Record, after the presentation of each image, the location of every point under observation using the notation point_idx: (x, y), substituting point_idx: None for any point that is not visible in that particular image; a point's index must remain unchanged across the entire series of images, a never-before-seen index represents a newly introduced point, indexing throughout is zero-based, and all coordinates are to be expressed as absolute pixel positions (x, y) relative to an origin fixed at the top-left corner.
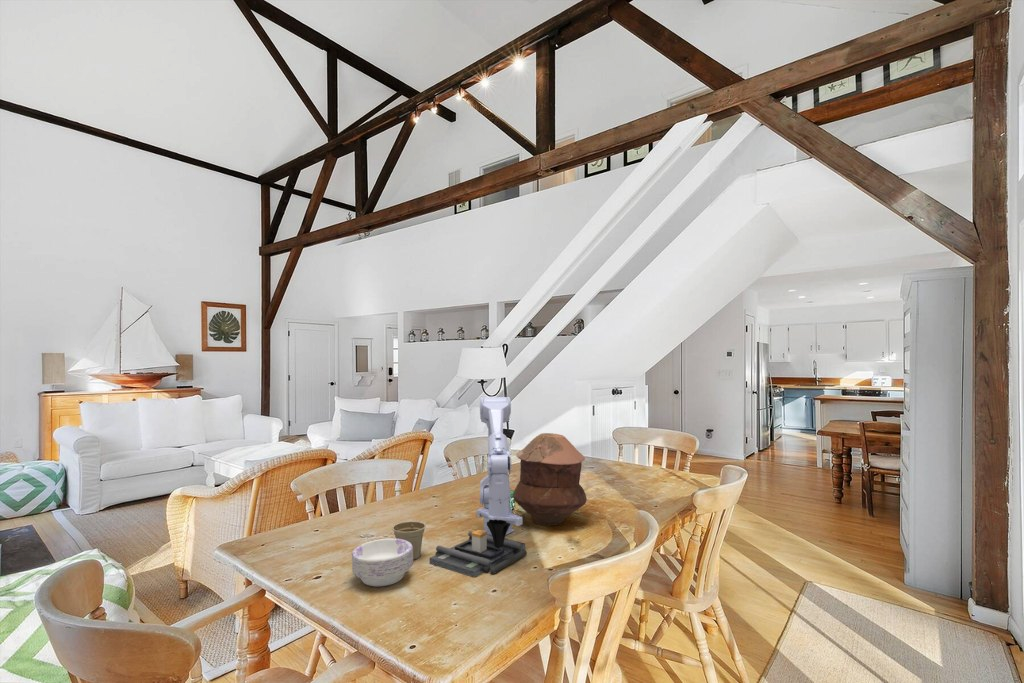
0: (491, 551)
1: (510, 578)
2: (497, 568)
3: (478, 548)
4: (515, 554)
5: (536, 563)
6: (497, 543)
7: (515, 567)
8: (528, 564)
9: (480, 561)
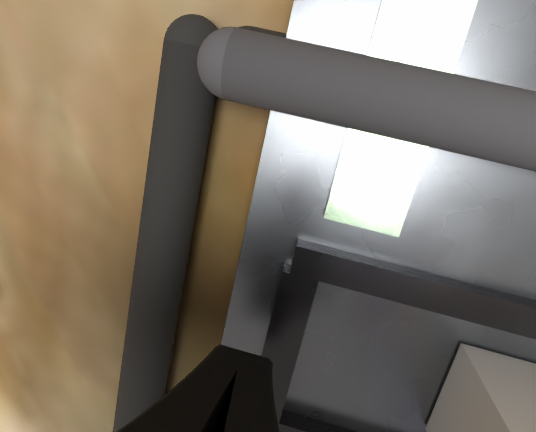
0: (363, 402)
1: (35, 27)
2: (159, 82)
3: (498, 373)
4: (136, 387)
5: (9, 347)
6: (209, 370)
7: (100, 240)
8: (46, 317)
9: (336, 49)
